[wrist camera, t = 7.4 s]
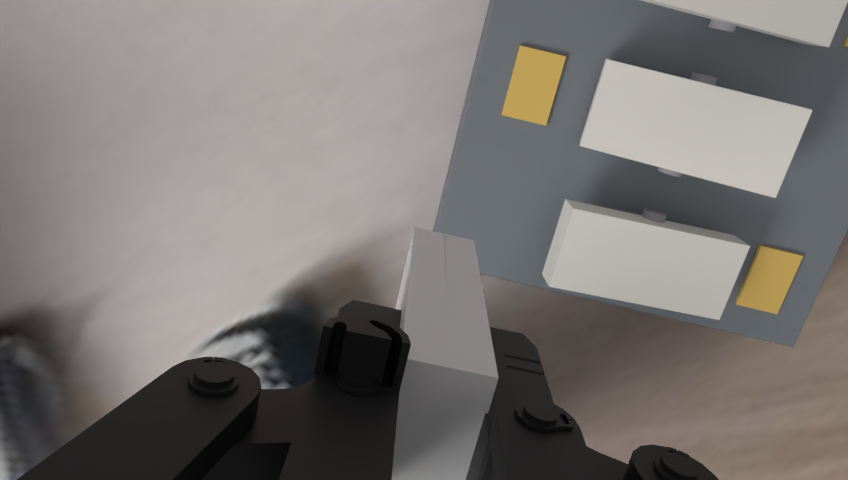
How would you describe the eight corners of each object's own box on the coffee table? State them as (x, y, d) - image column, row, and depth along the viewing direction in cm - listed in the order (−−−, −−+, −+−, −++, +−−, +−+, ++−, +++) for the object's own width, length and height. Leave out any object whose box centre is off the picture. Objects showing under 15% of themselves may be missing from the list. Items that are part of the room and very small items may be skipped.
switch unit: (433, 229, 36) (429, 263, 31) (523, -134, 31) (535, -162, 26) (752, 304, 37) (797, 349, 32) (901, -39, 31) (984, -49, 26)
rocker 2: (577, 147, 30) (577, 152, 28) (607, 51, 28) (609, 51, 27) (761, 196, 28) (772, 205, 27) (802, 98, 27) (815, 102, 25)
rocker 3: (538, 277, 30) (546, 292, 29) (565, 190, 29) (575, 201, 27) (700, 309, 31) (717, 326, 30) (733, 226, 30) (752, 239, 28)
